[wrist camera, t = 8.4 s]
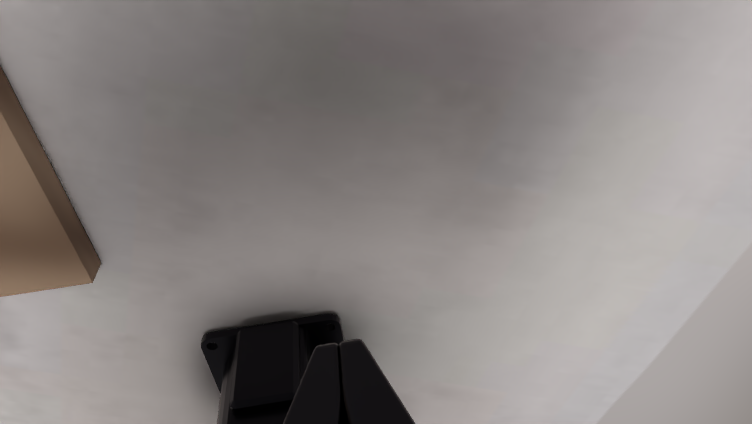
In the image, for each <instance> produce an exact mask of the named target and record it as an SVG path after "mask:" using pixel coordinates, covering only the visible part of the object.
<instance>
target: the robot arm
mask: <svg viewBox="0 0 752 424" xmlns="http://www.w3.org/2000/svg"><path fill="white" fill-rule="evenodd" d="M327 324H332V325H327ZM211 342H213V343H211ZM201 348H202V351H203V353H204V355H205V358H206V360H207V363H208V365H209V367H210V370H211V372H212V374H213V377H214V379H215V382H216V384H217V386H218V389H219V391H220V393H221V395H220V403H219V411H218V419H217V424H415V422H414V421H413V419H412V418H411V416H410V414H409V413H408V411H407V410H406V408H405V407H404V405H403V403H402V402H401V400H400V399H399V397H398V396H397V394H396V392H395V391H394V389H393V388H392V386H391V385H390V383H389V381H388V380H387V378H386V377H385V375H384V374H383V372H382V370H381V369H380V367H379V366H378V364H377V363H376V361H375V359H374V358H373V356H372V355H371V353H370V352H369V350H368V348H367V347H366V345H365V344H364V342H363V341H362V340H361V339H354V340H348V341H344V338H343V332H342V327H341V322H340V318H339V317H338V316H337V315H335V314H324V315H317V316H311V317H305V318H298V319H292V320H286V321H279V322H273V323H267V324H260V325H254V326H248V327H241V328H235V329H229V330H222V331H216V332H210V333H207V334H205V335H204V336H203V338H202V342H201Z"/></svg>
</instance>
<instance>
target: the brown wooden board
mask: <svg viewBox="0 0 752 424" xmlns="http://www.w3.org/2000/svg"><path fill="white" fill-rule="evenodd" d="M100 265H101V262H100V260H99V258H98V256H97V254H96V252H95V250H94V248H93V246H92V244H91V242H90V240H89V238H88V236H87V234H86V233H85V231H84V229H83V227H82V225H81V223H80V221H79V219H78V217H77V215H76V213H75V211H74V209H73V207H72V205H71V203H70V201H69V199H68V197H67V195H66V193H65V191H64V189H63V188H62V186H61V184H60V182H59V180H58V178H57V176H56V174H55V172H54V170H53V168H52V166H51V164H50V162H49V160H48V158H47V156H46V154H45V152H44V150H43V148H42V146H41V145H40V143H39V141H38V139H37V137H36V135H35V133H34V131H33V129H32V127H31V125H30V123H29V121H28V119H27V117H26V115H25V113H24V111H23V109H22V107H21V105H20V103H19V102H18V100H17V98H16V96H15V94H14V92H13V90H12V88H11V86H10V84H9V82H8V80H7V78H6V76H5V74H4V72H3V70H2V68H1V66H0V297H3V296H9V295H16V294H22V293H29V292H35V291H42V290H48V289H55V288H62V287H68V286H75V285H81V284H88V283H93V281H94V279H95V276H96V274H97V272H98V269H99V267H100Z"/></svg>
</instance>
